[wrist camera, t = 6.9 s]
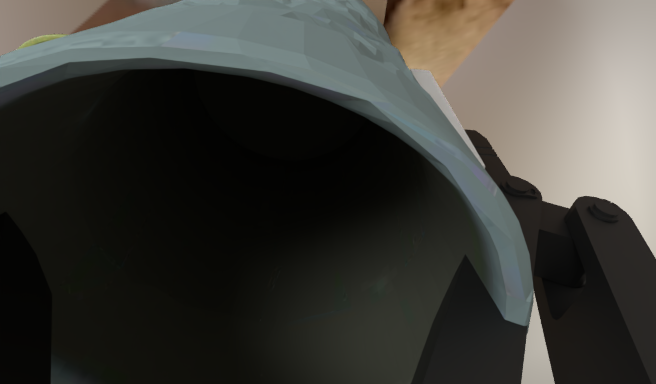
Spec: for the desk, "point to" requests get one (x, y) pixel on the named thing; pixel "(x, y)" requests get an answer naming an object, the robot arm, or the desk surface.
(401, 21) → the desk surface
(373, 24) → the blue ceramic cup
